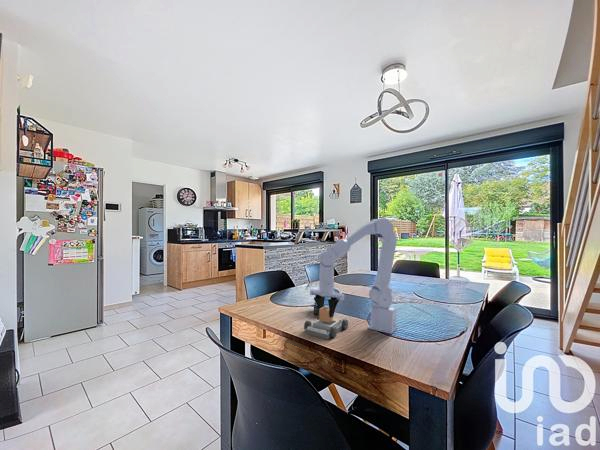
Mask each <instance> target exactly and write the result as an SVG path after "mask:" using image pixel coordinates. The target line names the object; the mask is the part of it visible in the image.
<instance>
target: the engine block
mask: <svg viewBox="0 0 600 450" xmlns="http://www.w3.org/2000/svg"><path fill="white" fill-rule="evenodd" d="M318 315H319V320H320V321H324V322H330V321H331V320H333V318H334V316H333V317H330V315H329V306H324V307H322V308H320V309H319V311H318Z"/></svg>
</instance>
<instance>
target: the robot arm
mask: <svg viewBox="0 0 600 450" xmlns="http://www.w3.org/2000/svg"><path fill="white" fill-rule="evenodd" d="M394 230H395V229H394V224H393V223H392V222H391V221H390V220H389V219H388V218H386V217H382V218H373V219H371V220H370V221H368V222H366V223H365V224H363V225H362V226H360V227H359V228H358V229H357V230H356V231H355V232H353V233H351V234H350V235H349V236H347V238H340V239H336V240H335V243H333V244H332V245H331V246H327V247H326V248H325V249H326V250H322V251H321V252H320V253H319V255H318V258H317V259H318V262H319V271H318V273H319V274H318V275H319V276H318V277H319V280H318V282H319V283H318V284H319V287H318V289H310V290H309V295H310V296H314V297H313V300H314V303H315V302H316V304H317V307H318V310H319V309H320V308H322V307H324V300H325V297H328V298H330V299H329V300H328V303H329V315H330V317H333V318H334V316H335V311H336V308H337V305H338V303H339V301H344V300H345V293H339V292H337V291H335V288H334V287H335V282H334V281H335V277H334V276H335V269H334V265H335V263H336V262H337V261H336V260H338V259H341V257H343V256H344V255H345V254H347V253H348V252H350V251H351V246H353V245H354V244H355V243H357V242H359V241H360V240H362V239H363V238H364V237H366V236H370V235H374V236H375V237H377V238H378V239H379V240H380V242H381V243H382V244H381V247H380V248H381V250H380V254H379V259H378V266H377V272H376V278H375V281H374V282H373V283H372V287H371V289H370V290H369V293H368V296H369V299H370V300H371V303H370V308H371V309H370V313H371V314H370V317H371V318H370V319H371V320H370V324H369V325H368V326H367V329H368V330H373V331H378V332H383V333H386V334H391V335H392V334H393V333H394V332H395V331H396V329H397V328H398V327H397V309H396V308H394V307H392V306H391V305H392V304H393V294H392V292H393V291H392V290H393V289H392V287H391V284H390V283H391V282H390V281H391V277H392V272H393V271H392V270H393V265H394V259H395V253H396V247H397V240H398V239H397V236H396V233H395V231H394Z"/></svg>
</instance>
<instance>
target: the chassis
mask: <svg viewBox="0 0 600 450" xmlns="http://www.w3.org/2000/svg"><path fill="white" fill-rule="evenodd" d="M312 323H313V324H312ZM348 328H349V321H348V319H345V318H343V319H341V318H337V317H333V320H331V321H330V322H324V321H320V320H319V314H318V315H317V319H316V320H315V321H313V322H311V320H305V322H304V324H303V329H304V334H306V333H307V334H306V335H311V336H314V337H317V338H321V339H325V340H329V339H331V338H334V339H335V338H336V336H337V334H338V333H339V332H340V331H342V330H347V329H348Z"/></svg>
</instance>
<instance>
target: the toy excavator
mask: <svg viewBox="0 0 600 450" xmlns="http://www.w3.org/2000/svg"><path fill="white" fill-rule="evenodd" d="M329 299H331V298H328V297H325V300H324V306H329V303H328V300H329ZM313 315H314V316H315V315H316V316H318V315H319V310H318V307H317V304H316V302H315V301H314V305H313Z"/></svg>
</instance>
